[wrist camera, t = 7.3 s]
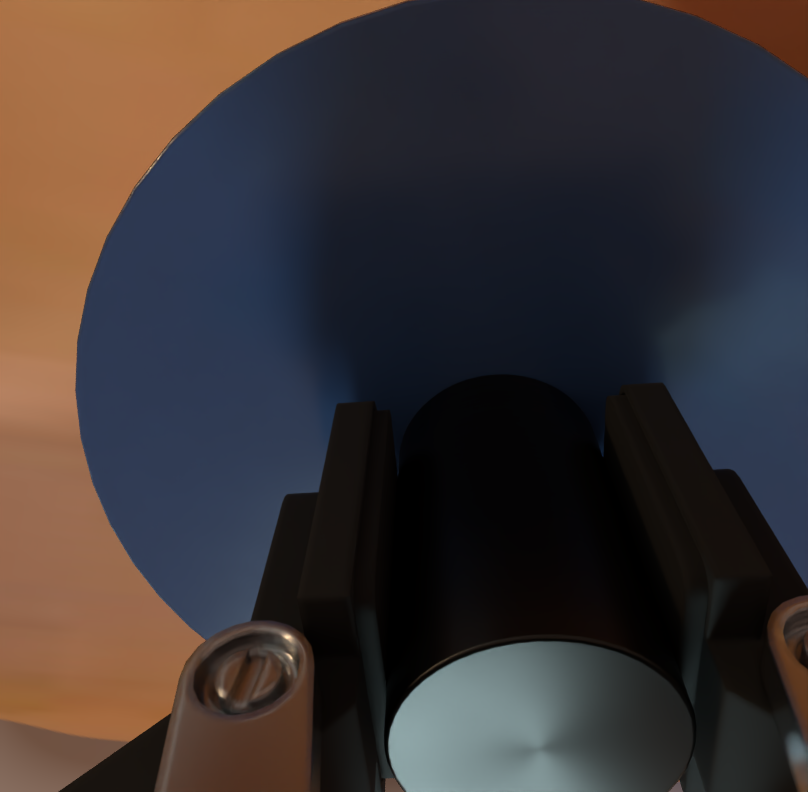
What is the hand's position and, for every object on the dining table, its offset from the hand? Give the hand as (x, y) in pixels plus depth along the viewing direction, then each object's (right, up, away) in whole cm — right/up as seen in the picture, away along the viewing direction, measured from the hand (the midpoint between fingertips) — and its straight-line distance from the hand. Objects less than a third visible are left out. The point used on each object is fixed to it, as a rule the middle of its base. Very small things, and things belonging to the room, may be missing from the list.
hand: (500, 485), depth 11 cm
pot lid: (0, +1, +1) cm, 1 cm away
